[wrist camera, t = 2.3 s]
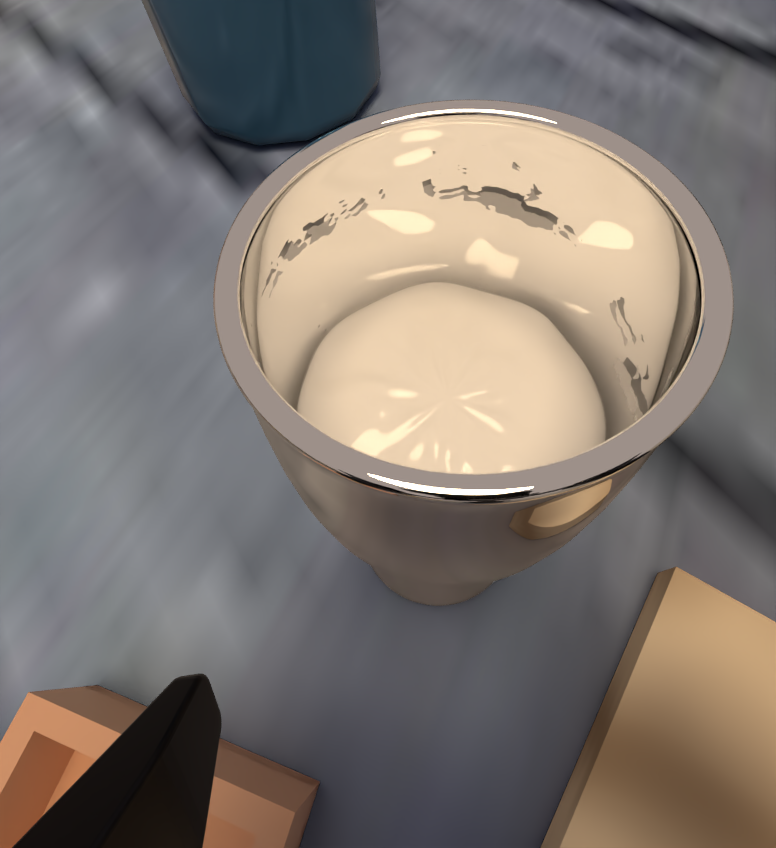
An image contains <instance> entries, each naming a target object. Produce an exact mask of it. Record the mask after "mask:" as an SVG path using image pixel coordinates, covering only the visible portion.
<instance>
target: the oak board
mask: <svg viewBox="0 0 776 848" xmlns="http://www.w3.org/2000/svg"><path fill="white" fill-rule="evenodd" d="M541 848H776V622H774V621H773V620H771V619H769V618H767V617H765V616H764V615H762V614H760V613H758V612H756V611H755V610H753V609H751V608H749V607H747V606H746V605H744V604H742V603H740V602H738V601H737V600H735V599H733V598H731V597H729V596H728V595H726V594H724V593H722V592H721V591H719V590H717V589H715V588H713V587H712V586H710V585H708V584H706V583H704V582H703V581H701V580H699V579H697V578H695V577H694V576H692V575H690V574H688V573H686V572H685V571H683V570H681V569H679V568H677V567H674V568H671V569H668V570H665V571H662V572H659V573H657V576H656V578H655V580H654V583H653V585H652V588H651V590H650V592H649V595H648V597H647V599H646V602H645V604H644V606H643V609H642V611H641V613H640V616H639V618H638V620H637V623H636V625H635V627H634V630H633V632H632V634H631V637H630V639H629V641H628V644H627V646H626V648H625V651H624V653H623V656H622V658H621V660H620V663H619V665H618V667H617V670H616V672H615V674H614V677H613V679H612V681H611V684H610V686H609V688H608V691H607V693H606V695H605V698H604V700H603V702H602V705H601V707H600V709H599V712H598V714H597V716H596V719H595V721H594V724H593V726H592V728H591V731H590V733H589V735H588V738H587V740H586V742H585V745H584V747H583V749H582V752H581V754H580V756H579V759H578V761H577V763H576V766H575V768H574V770H573V773H572V775H571V777H570V780H569V782H568V784H567V787H566V789H565V792H564V794H563V796H562V799H561V801H560V803H559V806H558V808H557V810H556V813H555V815H554V817H553V820H552V822H551V824H550V827H549V829H548V831H547V834H546V836H545V838H544V841H543V843H542V845H541Z"/></svg>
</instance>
